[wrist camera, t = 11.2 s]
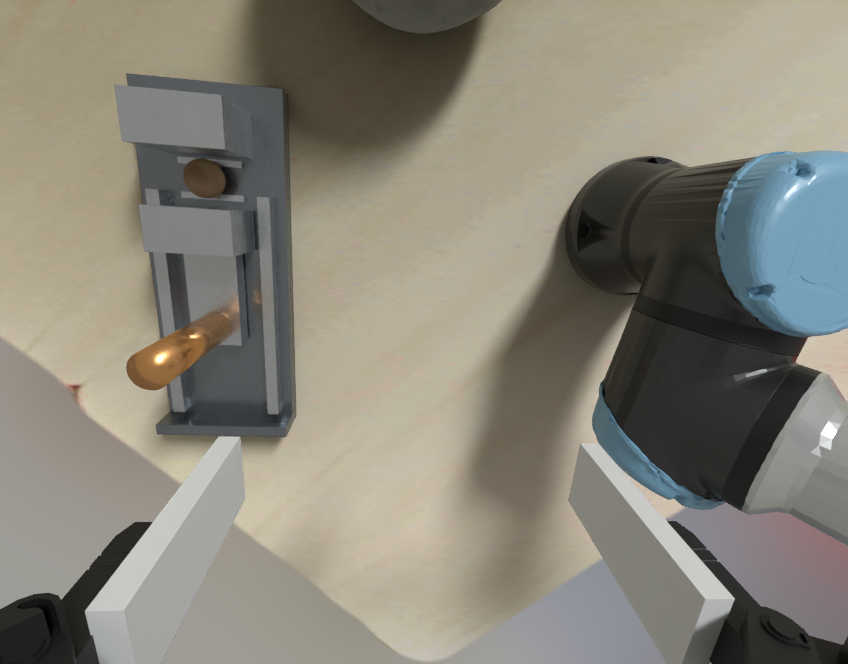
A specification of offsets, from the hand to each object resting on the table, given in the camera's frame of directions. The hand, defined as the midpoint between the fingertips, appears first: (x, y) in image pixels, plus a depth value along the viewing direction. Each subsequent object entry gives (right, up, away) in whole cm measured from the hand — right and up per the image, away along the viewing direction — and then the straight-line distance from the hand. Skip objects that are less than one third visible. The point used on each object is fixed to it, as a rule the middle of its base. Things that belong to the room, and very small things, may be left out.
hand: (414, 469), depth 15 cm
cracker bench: (-22, +12, +29) cm, 38 cm away
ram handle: (-21, +11, +27) cm, 36 cm away
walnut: (-21, +21, +24) cm, 38 cm away
